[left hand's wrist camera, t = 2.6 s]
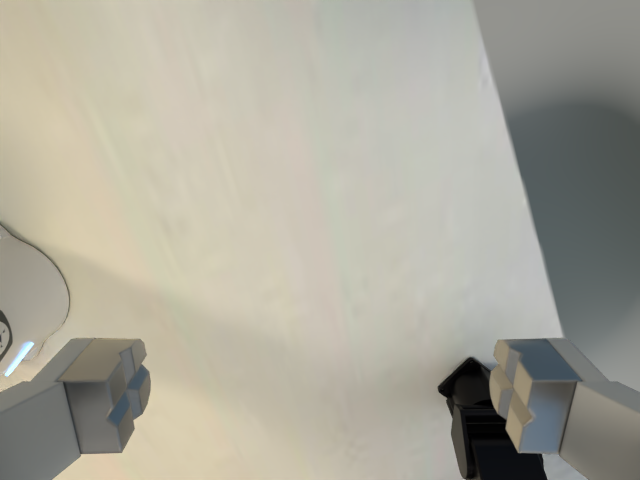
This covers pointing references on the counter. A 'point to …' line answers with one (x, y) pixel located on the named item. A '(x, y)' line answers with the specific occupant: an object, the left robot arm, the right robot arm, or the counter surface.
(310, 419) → the counter surface
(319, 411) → the counter surface
